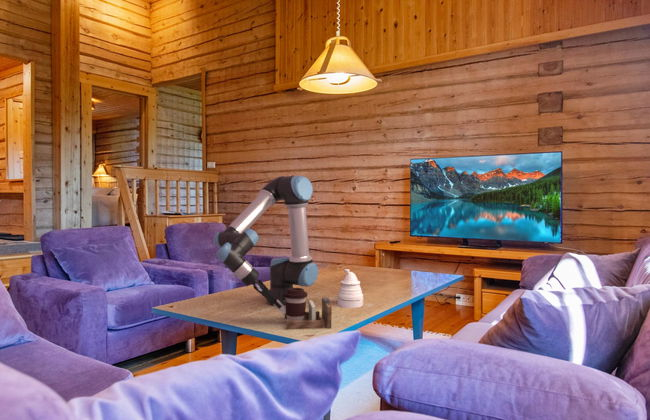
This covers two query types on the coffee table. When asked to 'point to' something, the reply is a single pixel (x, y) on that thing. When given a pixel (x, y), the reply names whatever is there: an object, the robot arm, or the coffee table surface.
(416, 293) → the coffee table surface
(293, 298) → the coffee cup
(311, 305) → the catch plate
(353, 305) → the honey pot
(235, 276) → the robot arm
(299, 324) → the dock
